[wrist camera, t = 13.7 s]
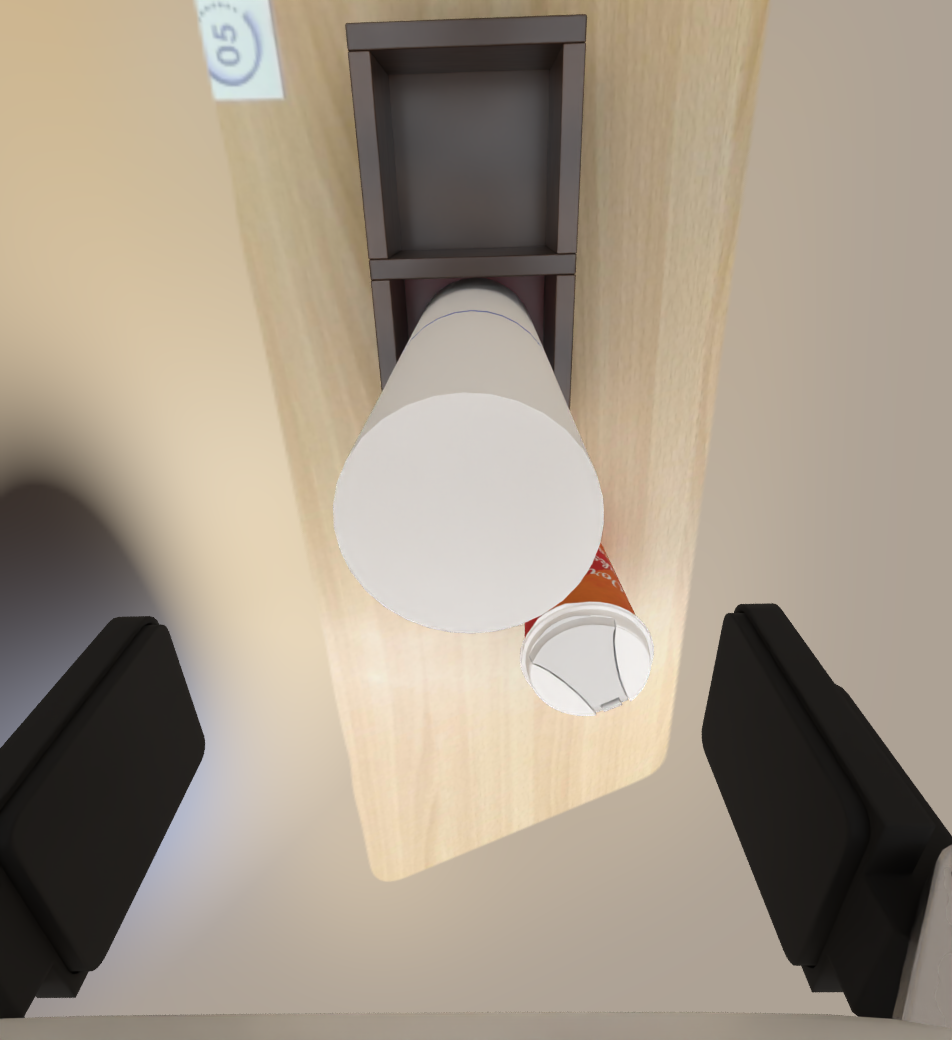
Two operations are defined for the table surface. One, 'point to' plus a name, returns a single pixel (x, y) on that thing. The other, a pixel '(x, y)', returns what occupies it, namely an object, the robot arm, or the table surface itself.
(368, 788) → the table surface
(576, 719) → the table surface
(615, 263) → the table surface
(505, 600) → the cylindrical container
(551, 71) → the wooden compartment box
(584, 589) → the paper cup
